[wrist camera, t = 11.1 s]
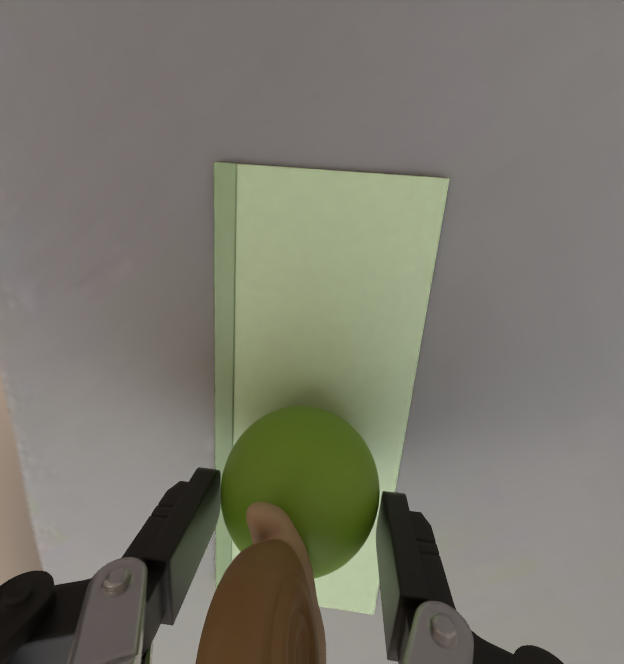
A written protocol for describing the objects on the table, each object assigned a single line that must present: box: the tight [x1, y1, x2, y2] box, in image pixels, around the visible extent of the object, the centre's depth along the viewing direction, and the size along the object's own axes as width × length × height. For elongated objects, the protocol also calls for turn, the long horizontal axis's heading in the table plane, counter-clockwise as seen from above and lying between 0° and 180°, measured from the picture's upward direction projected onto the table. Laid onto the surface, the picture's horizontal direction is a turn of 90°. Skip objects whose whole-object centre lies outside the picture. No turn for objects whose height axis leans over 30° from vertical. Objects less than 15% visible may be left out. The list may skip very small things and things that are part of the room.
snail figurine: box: [196, 406, 380, 664], centre depth 9 cm, size 5×6×12 cm
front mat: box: [214, 162, 450, 615], centre depth 15 cm, size 20×8×1 cm, turn 176°
